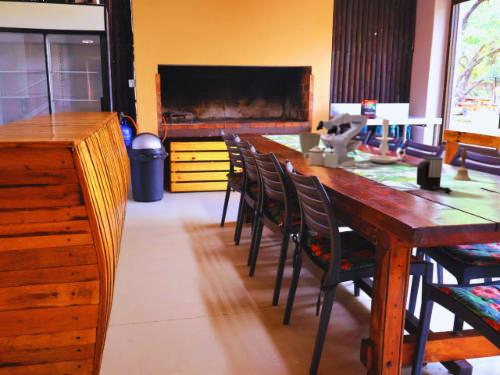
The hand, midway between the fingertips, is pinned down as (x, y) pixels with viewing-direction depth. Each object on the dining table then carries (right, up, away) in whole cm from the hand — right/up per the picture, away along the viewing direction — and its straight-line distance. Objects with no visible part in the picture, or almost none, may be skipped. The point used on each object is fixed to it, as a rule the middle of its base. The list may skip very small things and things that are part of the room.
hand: (322, 130), depth 280 cm
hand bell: (+66, -31, -42) cm, 84 cm away
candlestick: (+43, -19, +12) cm, 48 cm away
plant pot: (-3, -14, +35) cm, 38 cm away
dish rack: (+12, -21, +3) cm, 24 cm away
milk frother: (+41, -36, -69) cm, 88 cm away
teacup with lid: (-5, -21, +3) cm, 22 cm away
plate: (+4, -22, -6) cm, 24 cm away
